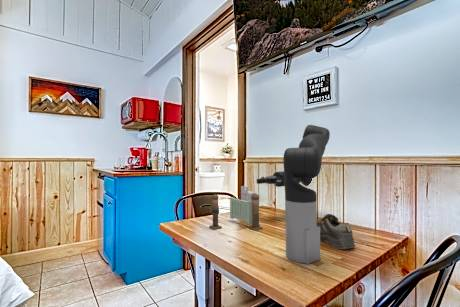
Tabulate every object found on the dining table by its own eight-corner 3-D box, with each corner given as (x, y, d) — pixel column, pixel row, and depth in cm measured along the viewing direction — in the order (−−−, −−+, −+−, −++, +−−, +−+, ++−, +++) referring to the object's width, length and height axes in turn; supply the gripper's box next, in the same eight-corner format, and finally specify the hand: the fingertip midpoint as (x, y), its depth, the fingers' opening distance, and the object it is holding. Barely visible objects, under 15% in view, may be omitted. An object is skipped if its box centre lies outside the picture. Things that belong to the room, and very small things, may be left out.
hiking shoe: (322, 226, 104) (312, 202, 101) (366, 248, 84) (354, 219, 81) (305, 239, 101) (294, 215, 98) (346, 265, 82) (334, 236, 79)
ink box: (256, 214, 136) (256, 186, 137) (248, 215, 134) (248, 187, 135) (248, 211, 144) (248, 185, 144) (241, 212, 142) (240, 185, 142)
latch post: (221, 228, 109) (221, 194, 109) (213, 229, 107) (213, 195, 107) (216, 226, 112) (216, 193, 113) (209, 227, 110) (208, 194, 110)
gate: (252, 223, 111) (252, 201, 112) (249, 224, 110) (249, 201, 111) (232, 217, 124) (232, 197, 124) (230, 218, 123) (230, 197, 123)
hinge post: (262, 228, 108) (261, 193, 108) (255, 230, 105) (254, 194, 106) (256, 226, 111) (255, 192, 111) (249, 228, 109) (248, 193, 109)
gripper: (274, 170, 134) (248, 172, 125) (293, 172, 123) (267, 174, 114) (274, 184, 134) (249, 187, 125) (293, 187, 123) (267, 190, 114)
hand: (257, 181), depth 119 cm, fingers closed
